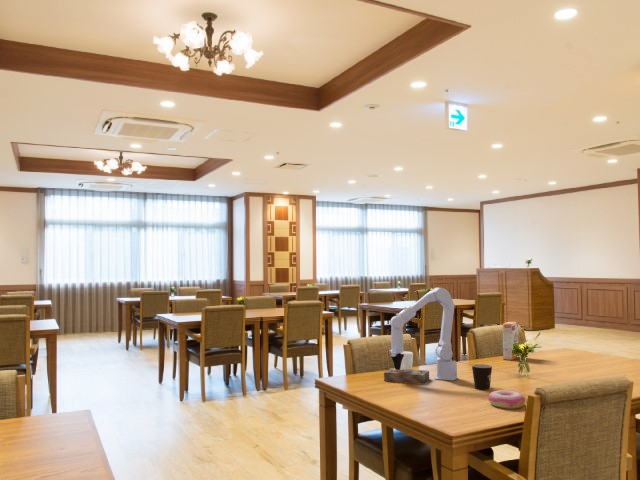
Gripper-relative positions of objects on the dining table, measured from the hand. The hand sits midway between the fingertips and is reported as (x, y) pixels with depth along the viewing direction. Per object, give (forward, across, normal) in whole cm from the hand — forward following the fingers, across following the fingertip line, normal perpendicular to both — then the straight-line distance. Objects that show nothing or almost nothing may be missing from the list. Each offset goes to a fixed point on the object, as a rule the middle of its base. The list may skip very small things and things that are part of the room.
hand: (397, 369), depth 268 cm
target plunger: (+3, 0, 0) cm, 3 cm away
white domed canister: (+4, 0, +9) cm, 10 cm away
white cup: (+5, -19, -2) cm, 20 cm away
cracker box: (+5, -81, +44) cm, 93 cm away
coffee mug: (+5, +4, +42) cm, 42 cm away
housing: (+5, 0, +4) cm, 7 cm away
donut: (+5, +31, +54) cm, 62 cm away
